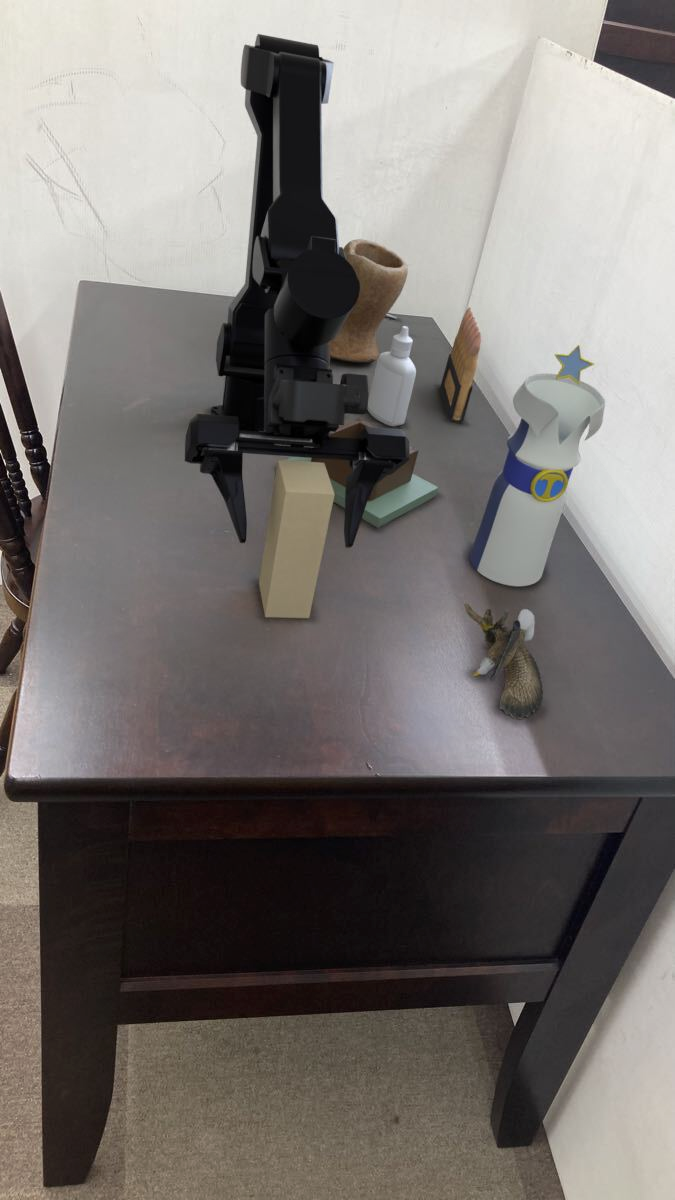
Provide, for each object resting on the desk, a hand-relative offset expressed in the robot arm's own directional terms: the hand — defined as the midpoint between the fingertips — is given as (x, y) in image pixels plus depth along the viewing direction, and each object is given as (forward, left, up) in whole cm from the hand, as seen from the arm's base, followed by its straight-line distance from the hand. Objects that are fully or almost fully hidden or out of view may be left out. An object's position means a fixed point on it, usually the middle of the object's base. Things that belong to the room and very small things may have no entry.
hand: (296, 544), depth 76 cm
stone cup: (-47, +44, -7) cm, 65 cm away
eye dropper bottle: (-27, +35, -7) cm, 44 cm away
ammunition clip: (-27, +47, -7) cm, 54 cm away
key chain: (-59, +55, -7) cm, 81 cm away
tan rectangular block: (-1, +1, -7) cm, 7 cm away
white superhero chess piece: (+4, +26, -7) cm, 27 cm away
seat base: (-15, +21, -7) cm, 26 cm away
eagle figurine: (+16, +12, -7) cm, 21 cm away
